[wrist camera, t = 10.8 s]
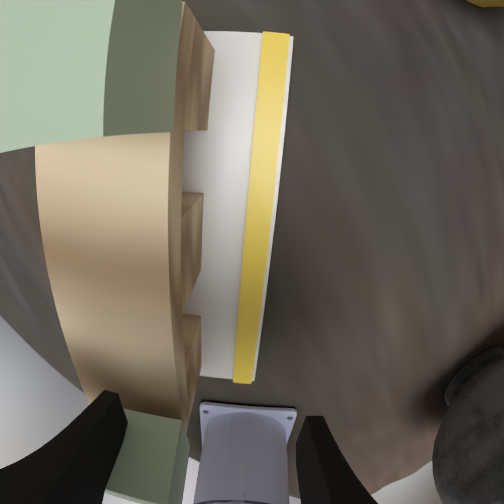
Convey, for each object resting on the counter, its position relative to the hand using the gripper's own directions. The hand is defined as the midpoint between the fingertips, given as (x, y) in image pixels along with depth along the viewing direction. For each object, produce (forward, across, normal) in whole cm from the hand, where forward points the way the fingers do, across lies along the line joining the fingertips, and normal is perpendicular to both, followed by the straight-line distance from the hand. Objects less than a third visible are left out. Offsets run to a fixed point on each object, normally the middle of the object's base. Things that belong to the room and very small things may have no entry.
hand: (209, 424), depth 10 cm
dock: (+9, +4, -5) cm, 11 cm away
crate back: (+1, +3, +3) cm, 5 cm away
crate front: (+1, +4, -12) cm, 12 cm away
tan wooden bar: (+7, +4, -5) cm, 10 cm away
